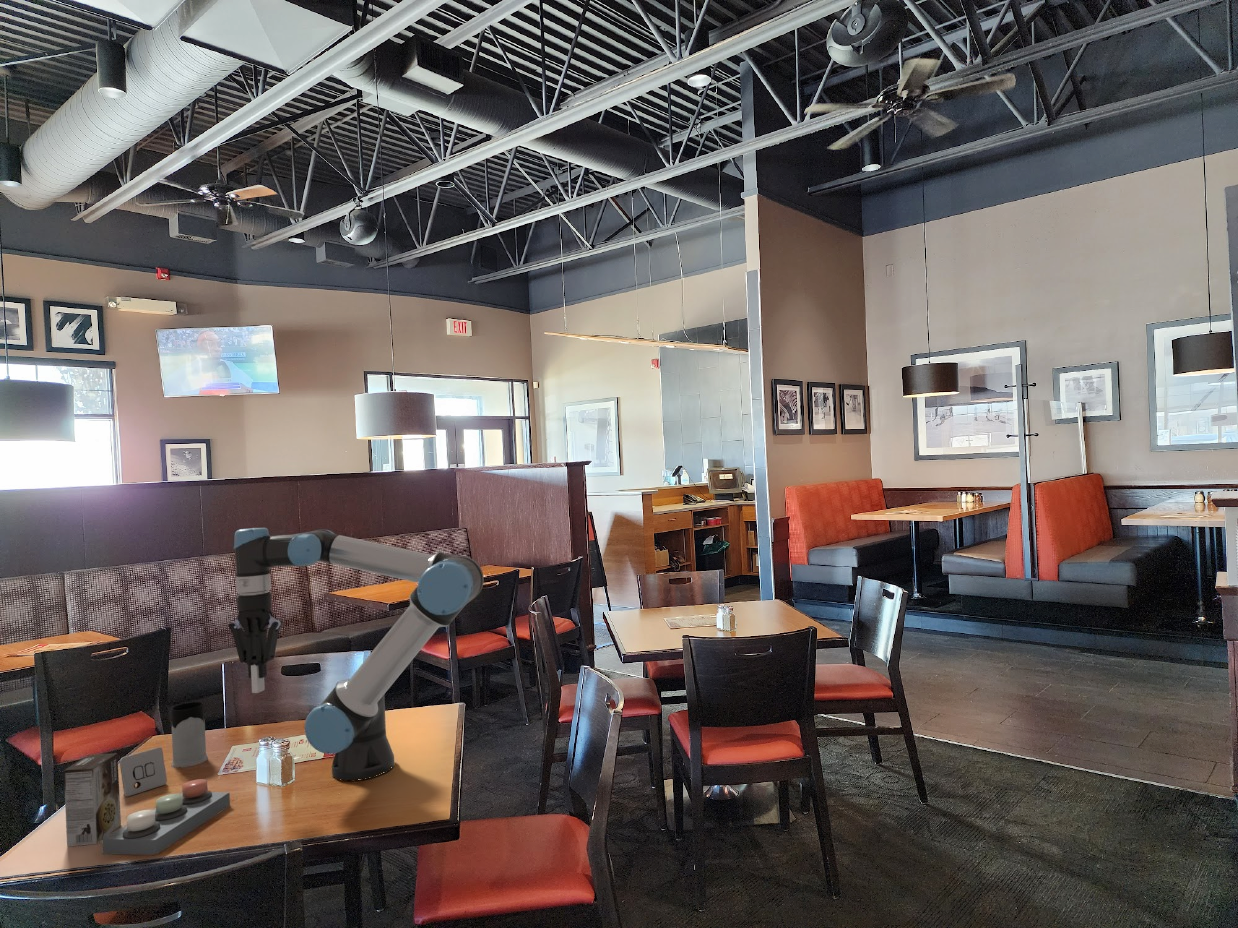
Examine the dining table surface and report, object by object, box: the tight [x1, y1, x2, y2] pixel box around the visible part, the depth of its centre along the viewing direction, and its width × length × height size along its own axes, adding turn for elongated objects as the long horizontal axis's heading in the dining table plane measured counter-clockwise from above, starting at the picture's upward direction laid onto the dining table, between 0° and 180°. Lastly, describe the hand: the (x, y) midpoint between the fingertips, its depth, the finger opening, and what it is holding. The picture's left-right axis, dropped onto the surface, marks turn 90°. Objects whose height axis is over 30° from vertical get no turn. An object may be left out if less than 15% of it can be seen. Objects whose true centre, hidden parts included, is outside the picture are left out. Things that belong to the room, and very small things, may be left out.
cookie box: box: [63, 752, 122, 847], centre depth 164 cm, size 9×6×16 cm
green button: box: [155, 793, 183, 814], centre depth 166 cm, size 5×5×2 cm
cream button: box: [126, 809, 155, 831], centre depth 158 cm, size 5×5×2 cm
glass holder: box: [170, 701, 209, 769], centre depth 210 cm, size 9×14×15 cm, turn 39°
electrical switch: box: [119, 747, 168, 797], centre depth 190 cm, size 9×5×9 cm, turn 141°
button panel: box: [101, 790, 231, 856], centre depth 166 cm, size 12×23×4 cm, turn 172°
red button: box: [181, 778, 209, 798], centre depth 174 cm, size 5×5×2 cm
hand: (258, 691), depth 183 cm, fingers closed
